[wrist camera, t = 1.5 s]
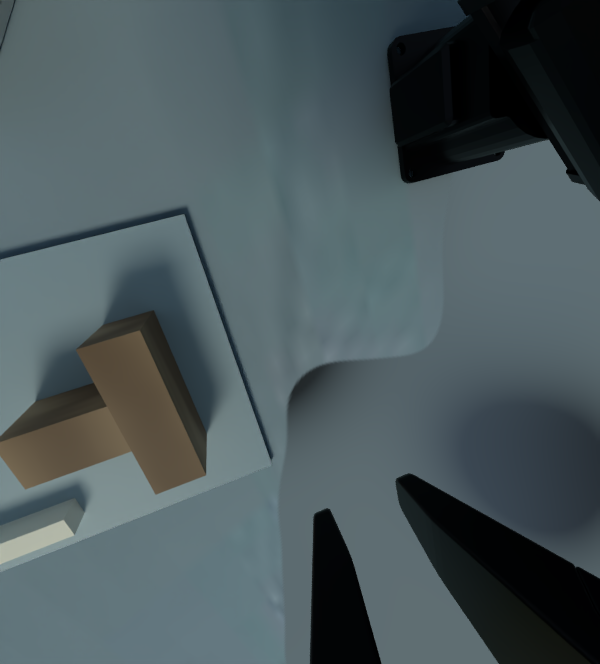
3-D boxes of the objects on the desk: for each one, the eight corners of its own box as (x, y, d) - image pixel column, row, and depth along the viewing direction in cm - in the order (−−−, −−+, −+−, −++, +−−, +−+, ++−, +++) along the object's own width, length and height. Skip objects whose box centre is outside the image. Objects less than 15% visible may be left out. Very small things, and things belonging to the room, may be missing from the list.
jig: (184, 214, 16) (181, 212, 14) (271, 461, 21) (276, 481, 20) (-394, 357, 12) (-494, 379, 10) (-104, 607, 18) (-137, 648, 16)
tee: (153, 310, 16) (139, 330, 13) (206, 433, 19) (206, 475, 16) (4, 353, 15) (-52, 387, 12) (84, 478, 18) (57, 532, 15)
